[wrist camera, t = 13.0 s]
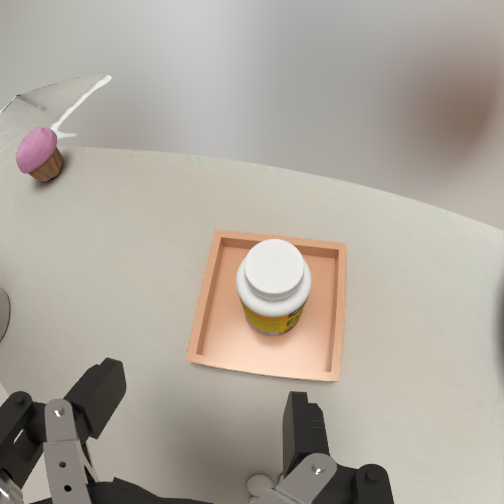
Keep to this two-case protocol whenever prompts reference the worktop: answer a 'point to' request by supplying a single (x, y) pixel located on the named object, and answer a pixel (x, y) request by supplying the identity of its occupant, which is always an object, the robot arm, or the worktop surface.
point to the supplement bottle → (273, 286)
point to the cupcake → (39, 154)
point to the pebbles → (259, 486)
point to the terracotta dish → (265, 346)
